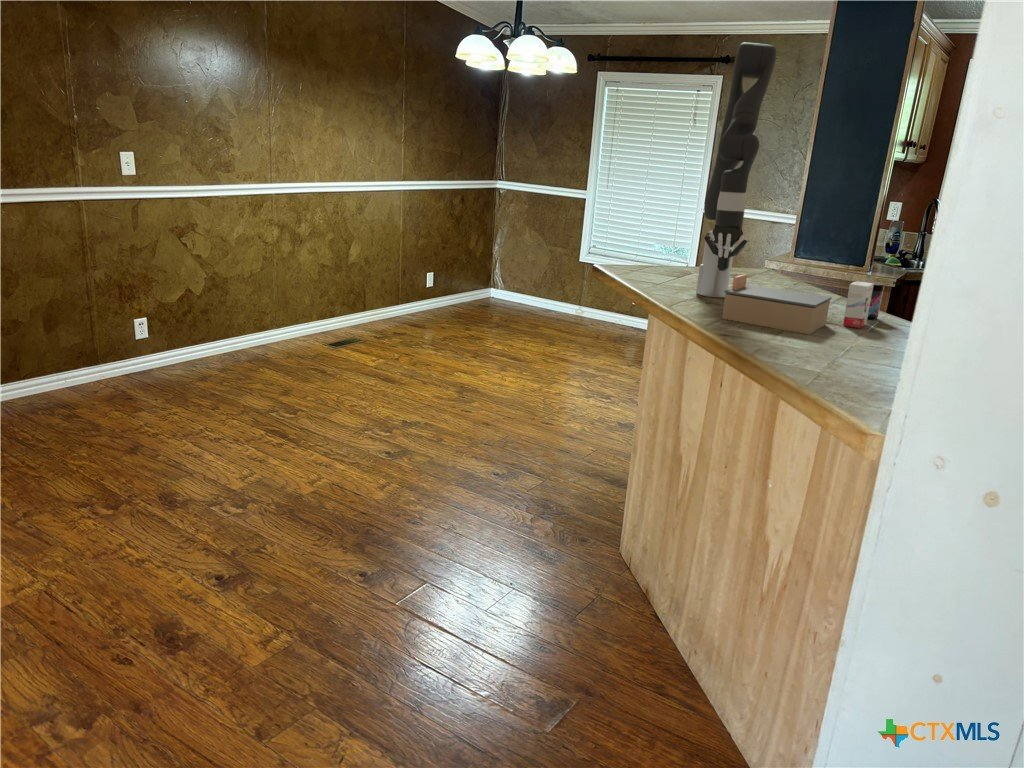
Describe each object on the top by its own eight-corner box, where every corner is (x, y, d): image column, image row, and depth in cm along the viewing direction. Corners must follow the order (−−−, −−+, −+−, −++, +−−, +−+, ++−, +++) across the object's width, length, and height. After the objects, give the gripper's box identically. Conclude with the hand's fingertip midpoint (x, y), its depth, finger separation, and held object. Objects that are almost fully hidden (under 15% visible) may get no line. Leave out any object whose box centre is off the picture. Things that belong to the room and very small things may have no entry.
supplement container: (854, 318, 216) (861, 283, 213) (851, 314, 222) (857, 280, 219) (879, 321, 214) (887, 285, 211) (875, 316, 220) (882, 282, 217)
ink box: (860, 329, 202) (868, 286, 199) (841, 325, 205) (849, 284, 202) (867, 324, 209) (875, 283, 206) (848, 321, 212) (856, 280, 208)
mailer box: (721, 318, 206) (725, 294, 204) (741, 310, 218) (745, 287, 216) (809, 334, 193) (814, 308, 191) (825, 324, 205) (830, 300, 203)
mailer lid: (724, 292, 204) (726, 278, 203) (745, 286, 216) (747, 272, 215) (814, 307, 190) (817, 291, 189) (831, 299, 203) (834, 284, 202)
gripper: (703, 207, 207) (695, 268, 212) (749, 211, 199) (740, 274, 205) (713, 206, 213) (705, 266, 218) (758, 210, 205) (749, 272, 210)
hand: (722, 270), depth 211 cm, fingers closed
